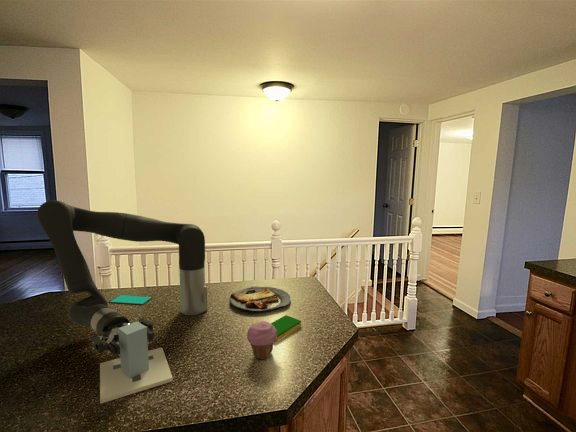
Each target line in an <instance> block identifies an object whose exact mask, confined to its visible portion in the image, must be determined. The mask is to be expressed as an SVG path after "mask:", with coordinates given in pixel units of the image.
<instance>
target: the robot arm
mask: <svg viewBox="0 0 576 432" xmlns="http://www.w3.org/2000/svg"><path fill="white" fill-rule="evenodd" d="M36 218H37V221H38V222H39V224H40V225H41V227H42V229H43V230H44V233H45V234H46V235H47V237H48V240H49V241H50V243H51V245H52V249H53V250H54V253H55V255H56V258H57V261H58V263H59V267H60V271H61V273H62V276H63V279H64V282H65V285H66V287H67V290H68V293H70V294H72V295H73V294H80V293H87V294H88V295H89V296H87V297H85V298H82V299H79V300H77V301H74V302H73V303H71V304H70V306H69V308H68V316H69V319H70V320H71V321H72V322H73V323H74V324H76V325H79V326H84V327H90V328H91V329H92V330H93V331H94V332H95V335H92V336H91V344H92V347H93V348H94V349H95V350H96V352H97V353H98V354H102V353H104V352H105V351H107V352H110V353H111V354H112V355H116V356H120V346H119V333H118V328H120V327H123V326H126V325H129V324H131V323H132V322H131V321H130V320H129V319H128V318H127V316H124V315H123V314H122V313H120V312H118V311H117V310H116V309H112V308H111V307H109V305H108V301H107V299H106V298H105V296H104V295H103V294H102V293H101V291H100V289H98V287H97V285H96V284H95V282H94V280H93V277H92V274H91V271H90V269H89V266H88V263H87V261H86V258H85V257H84V255H83V253H82V251H81V249H80V247H79V245H78V243H77V240H76V237H75V233H74V232H85V233H91V234H96V235H99V236H102V237H103V236H104V237H106V238H107V237H108V238H110V239H111V238H112V239H117V240H122V241H128V242H137V243H138V242H139V243H142V242H148V243H149V242H166V243H172V244H175V245H178V268H179V271H178V273H179V275H178V276H179V295H180V296H179V299H180V312H181V314H183V315H186V316H196V315H201V314H202V313H204V312H206V311H208V287H207V286H206V273H205V271H206V270H205V267H206V266H205V261H206V239H205V238H206V237H205V235H204V232H203V230H202V229H201V228H200V227H199V226H198V225H196V224H194V223H178V222H167V221H163V220H159V219H155V218H153V217H152V218H150V217H146V216H142V215H137V214H131V213H125V212H116V211H115V212H113V211H94V210H88V209H84V208H81V207H76V206H73V205H69V204H67V203H66V202H64V201H61V200H57V199H56V200H47V201H45V202H43V203H42V204H41V205H40V206H39V207H38V209H37V212H36ZM138 322H139V323H141V324H142V325H144V326H146V327H147V341H149V342H152V341H153V340H154V339H155V336H154V334H155V333H154V327H153V326H154V324H153V323H152V322H150V321H148V320H147V319H145V318H140V319H139V320H138ZM96 334H97V335H96Z"/></svg>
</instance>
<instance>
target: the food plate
mask: <svg viewBox="0 0 576 432" xmlns="http://www.w3.org/2000/svg"><path fill="white" fill-rule="evenodd" d="M228 300H229V302H230V304H231V306H233V307H236V308H238V309H242V310H243V311H249V312H255V311H256V312H261V311H263V312H264V311H265V312H268V311H269V312H271V311H272V310H275V309H278V308H281V307H286V306H288V305H289V304H290V303H291V295H290V294H289V293H288V292H287V291H284V289H280V288H277V287H272V286H251V287H247V288H243V289H239V290H237V291H235V292H232V293H231V294H230V298H229V299H228ZM279 301H280V302H279ZM274 303H278V304H277V305H274ZM273 305H274V306H273Z"/></svg>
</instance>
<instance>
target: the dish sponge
mask: <svg viewBox="0 0 576 432" xmlns="http://www.w3.org/2000/svg"><path fill="white" fill-rule="evenodd" d="M270 324H272V325H273V326H274V327H275V328H276V330H277V338H276V340H275V342H274V343H277V342H279V341H280V340H282V339H283V338H285V337H287V336H288V335H290V334H292V333H293V332H294V331H296V330H298V329H299V328H301V327H302V320H300V319H297V318H295V317H293V316H289V315H287V314H285V315H283V316H282V317H280V318H278V319H276V320H274V321H273V322H271V323H270Z"/></svg>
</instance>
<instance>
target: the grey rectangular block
mask: <svg viewBox="0 0 576 432" xmlns="http://www.w3.org/2000/svg"><path fill="white" fill-rule="evenodd" d="M130 323H131V324H129V325H126V326H123V327H120V328H118V333H119V342H118V345H119V346H120V354H119V358H120V361H121V371H122V372H123V373H124V374H125V375H126V376H127V377H128V378H130V379H131V378H133V377H135V376H137V375H139V374H141V373H143V372H145V371H147V370H149V360H148V351H149V347H148V346H149V345H148V339H147V327H146V326H144V325H142V324H141V323H139V320H138V321H134V322H130Z"/></svg>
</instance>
